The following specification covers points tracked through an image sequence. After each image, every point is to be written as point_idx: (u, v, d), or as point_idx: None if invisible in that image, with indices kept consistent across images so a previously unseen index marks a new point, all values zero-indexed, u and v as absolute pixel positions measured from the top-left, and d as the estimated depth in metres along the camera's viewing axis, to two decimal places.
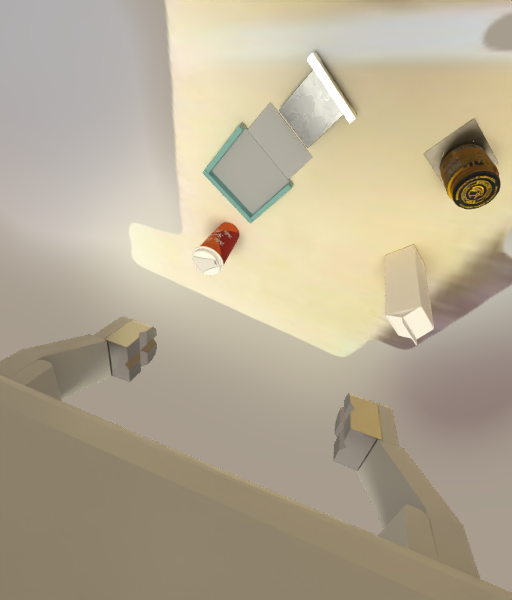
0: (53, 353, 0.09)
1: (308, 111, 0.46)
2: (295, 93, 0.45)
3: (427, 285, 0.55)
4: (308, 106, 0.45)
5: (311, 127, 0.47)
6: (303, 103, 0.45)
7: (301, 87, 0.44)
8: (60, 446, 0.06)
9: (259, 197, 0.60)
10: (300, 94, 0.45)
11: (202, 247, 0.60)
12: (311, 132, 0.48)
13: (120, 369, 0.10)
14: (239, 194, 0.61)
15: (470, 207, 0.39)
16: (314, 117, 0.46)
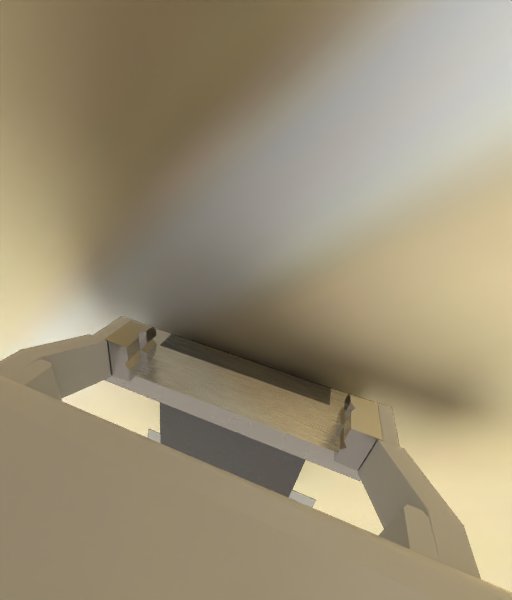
0: (53, 353, 0.09)
1: (221, 444, 0.15)
2: (164, 421, 0.15)
3: None
4: (211, 435, 0.14)
5: (255, 471, 0.15)
6: (196, 433, 0.15)
7: (166, 407, 0.15)
8: (60, 446, 0.06)
9: None
10: (175, 419, 0.15)
11: None
12: (264, 479, 0.15)
13: (120, 369, 0.10)
14: None
15: None
16: (245, 452, 0.14)
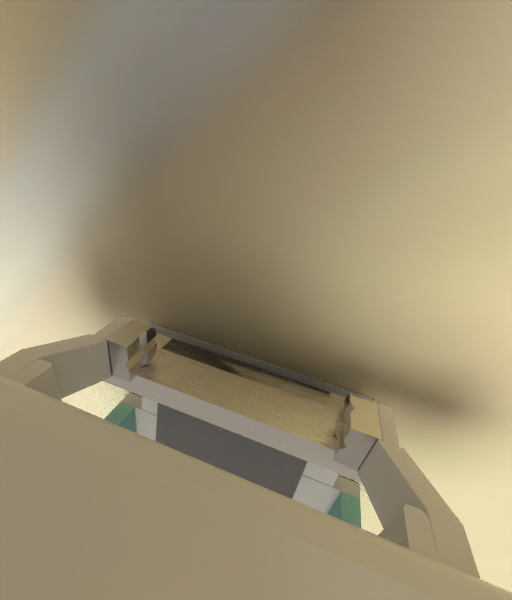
0: (53, 353, 0.09)
1: (218, 453, 0.14)
2: (160, 430, 0.15)
3: None
4: (208, 444, 0.14)
5: None
6: (193, 442, 0.14)
7: (163, 414, 0.14)
8: (60, 446, 0.06)
9: None
10: (171, 428, 0.14)
11: None
12: None
13: (120, 369, 0.10)
14: None
15: None
16: (243, 462, 0.14)
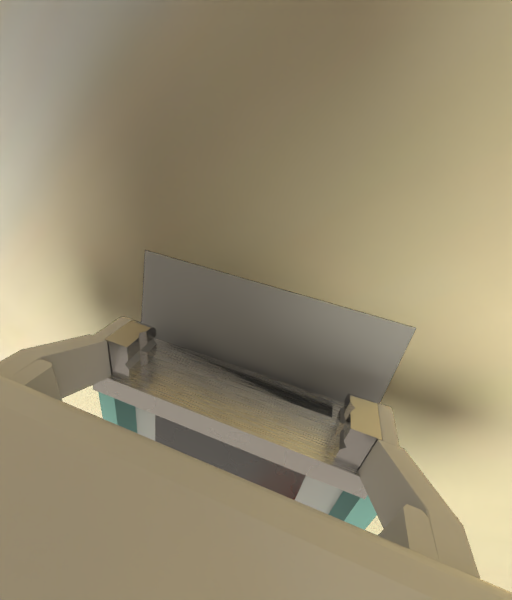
0: (53, 353, 0.09)
1: (218, 457, 0.14)
2: (160, 433, 0.15)
3: None
4: (208, 447, 0.14)
5: None
6: (193, 445, 0.14)
7: (161, 418, 0.14)
8: (60, 446, 0.06)
9: None
10: (170, 431, 0.14)
11: None
12: None
13: (120, 369, 0.10)
14: None
15: None
16: (243, 466, 0.14)
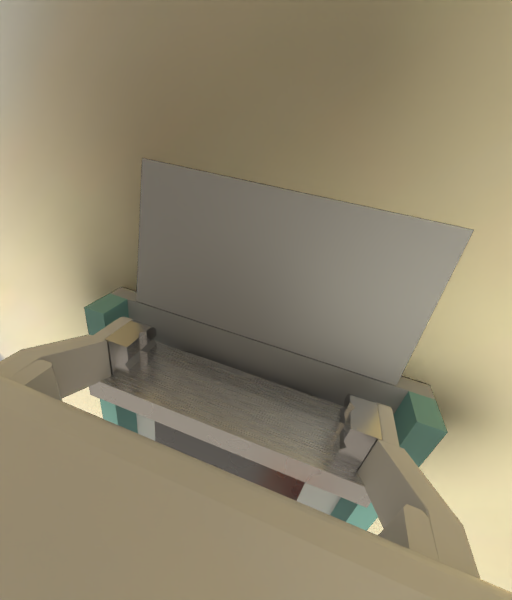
0: (53, 353, 0.09)
1: (218, 459, 0.14)
2: (159, 434, 0.14)
3: None
4: (208, 450, 0.14)
5: None
6: (193, 447, 0.14)
7: None
8: (60, 446, 0.06)
9: None
10: (170, 433, 0.14)
11: None
12: None
13: (120, 369, 0.10)
14: None
15: None
16: (244, 468, 0.14)
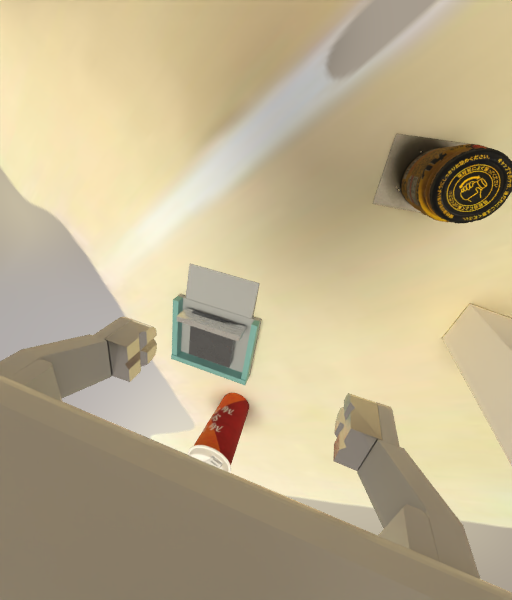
0: (53, 353, 0.09)
1: (208, 344, 0.47)
2: (191, 338, 0.48)
3: None
4: (205, 341, 0.47)
5: (219, 353, 0.47)
6: (201, 341, 0.47)
7: (192, 333, 0.47)
8: (60, 446, 0.06)
9: (237, 351, 0.48)
10: (194, 337, 0.47)
11: (192, 448, 0.44)
12: (222, 356, 0.47)
13: (120, 369, 0.10)
14: None
15: (488, 211, 0.20)
16: (216, 346, 0.47)
